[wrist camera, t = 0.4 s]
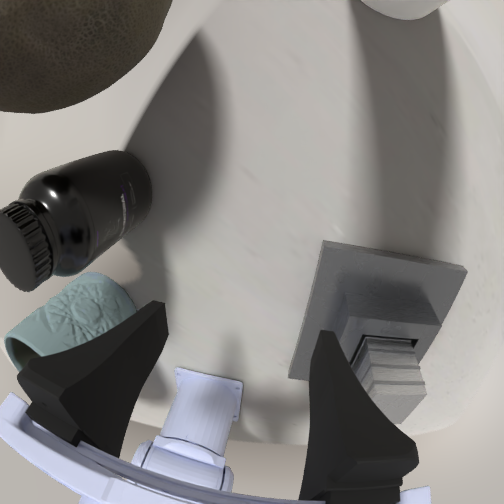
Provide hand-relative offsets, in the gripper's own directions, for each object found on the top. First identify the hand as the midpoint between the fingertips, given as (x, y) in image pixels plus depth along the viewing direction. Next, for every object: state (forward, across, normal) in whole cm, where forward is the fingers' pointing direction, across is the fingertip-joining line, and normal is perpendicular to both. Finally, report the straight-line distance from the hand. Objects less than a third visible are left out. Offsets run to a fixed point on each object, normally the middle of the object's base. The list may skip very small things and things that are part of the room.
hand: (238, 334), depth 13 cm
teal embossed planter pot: (+10, +16, +10) cm, 22 cm away
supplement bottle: (+10, +12, -3) cm, 16 cm away
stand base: (+10, -11, +7) cm, 16 cm away
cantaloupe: (+10, +12, -17) cm, 23 cm away
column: (+9, -11, +7) cm, 16 cm away
